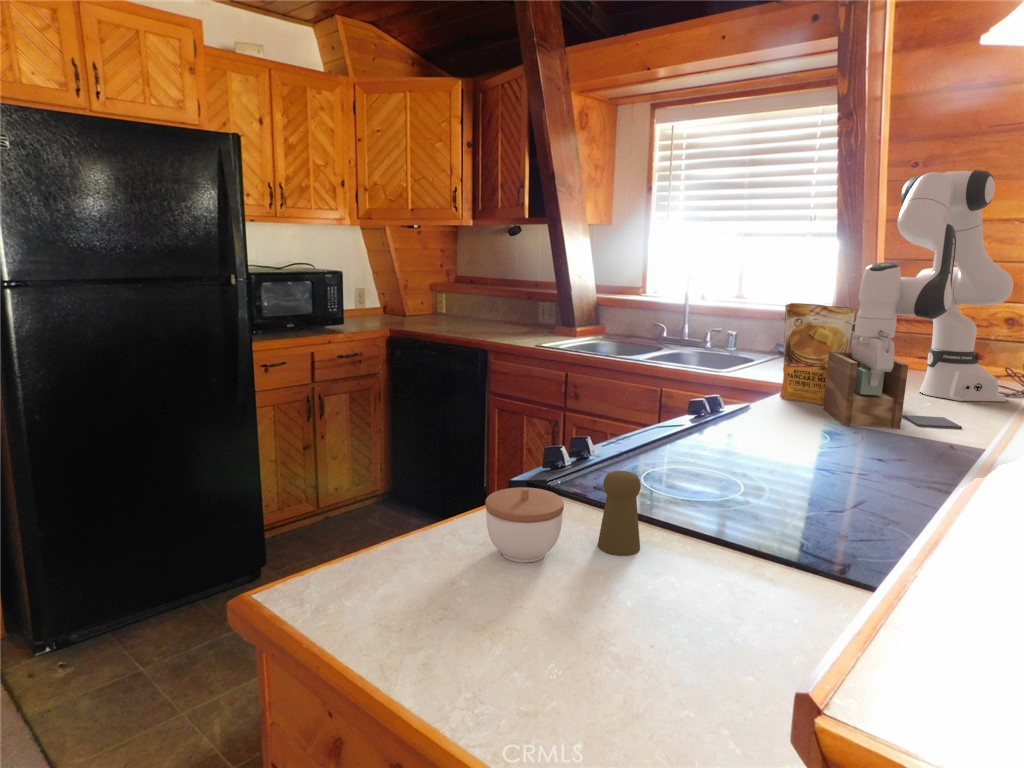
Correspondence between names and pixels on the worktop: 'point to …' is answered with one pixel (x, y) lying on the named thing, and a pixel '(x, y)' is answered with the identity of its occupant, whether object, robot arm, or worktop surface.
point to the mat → (931, 422)
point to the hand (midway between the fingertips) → (868, 383)
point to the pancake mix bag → (812, 348)
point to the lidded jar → (524, 522)
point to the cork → (620, 514)
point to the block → (867, 382)
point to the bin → (859, 406)
